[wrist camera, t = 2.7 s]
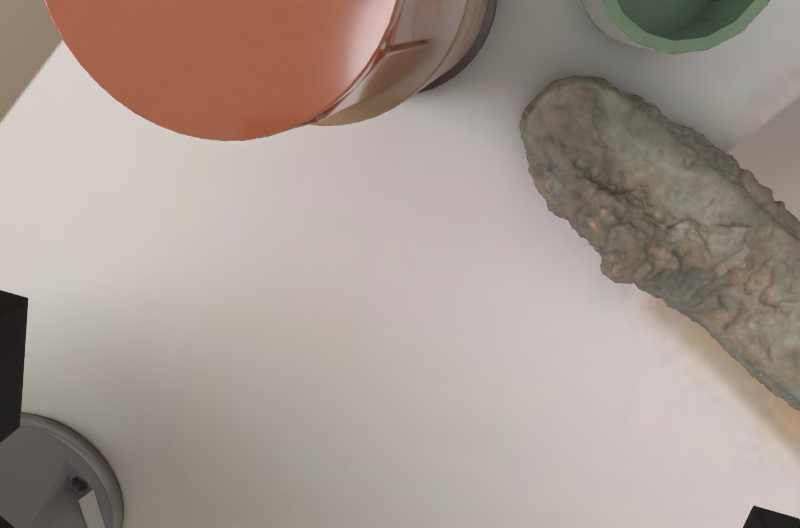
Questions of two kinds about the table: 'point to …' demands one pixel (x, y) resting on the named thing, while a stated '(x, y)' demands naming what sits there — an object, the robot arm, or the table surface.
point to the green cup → (673, 22)
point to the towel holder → (430, 59)
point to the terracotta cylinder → (243, 57)
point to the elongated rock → (673, 220)
